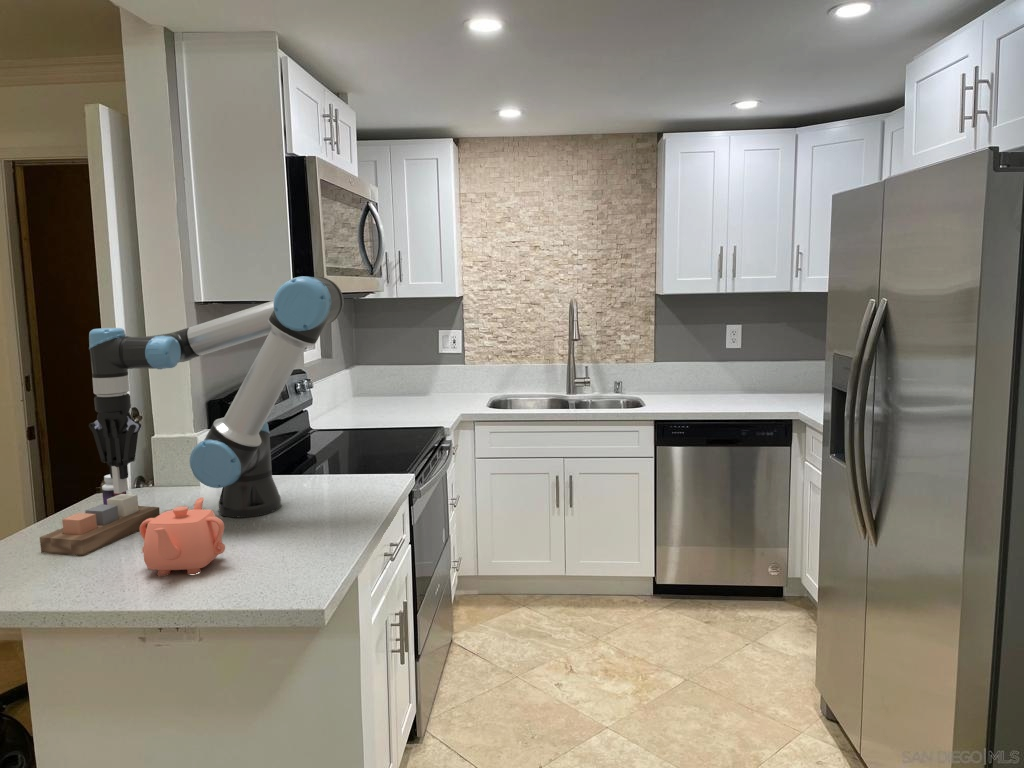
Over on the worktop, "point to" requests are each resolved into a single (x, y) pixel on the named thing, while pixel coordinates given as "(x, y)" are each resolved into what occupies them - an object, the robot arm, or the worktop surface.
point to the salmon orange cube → (79, 523)
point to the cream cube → (124, 504)
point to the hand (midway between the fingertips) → (120, 491)
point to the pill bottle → (108, 489)
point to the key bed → (96, 534)
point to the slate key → (104, 513)
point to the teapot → (182, 539)
